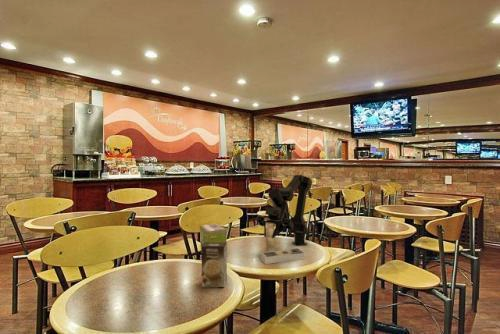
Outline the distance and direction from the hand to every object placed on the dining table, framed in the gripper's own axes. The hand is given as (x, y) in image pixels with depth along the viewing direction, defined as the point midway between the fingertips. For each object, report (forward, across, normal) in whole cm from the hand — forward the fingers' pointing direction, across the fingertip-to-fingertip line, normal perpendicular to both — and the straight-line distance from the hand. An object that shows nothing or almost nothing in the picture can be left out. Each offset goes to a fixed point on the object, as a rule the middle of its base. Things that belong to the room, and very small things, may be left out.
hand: (268, 237), depth 140 cm
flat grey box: (+4, +4, +12) cm, 14 cm away
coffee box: (+32, -5, -16) cm, 36 cm away
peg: (+4, 0, +6) cm, 7 cm away
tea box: (+13, -30, +4) cm, 33 cm away
